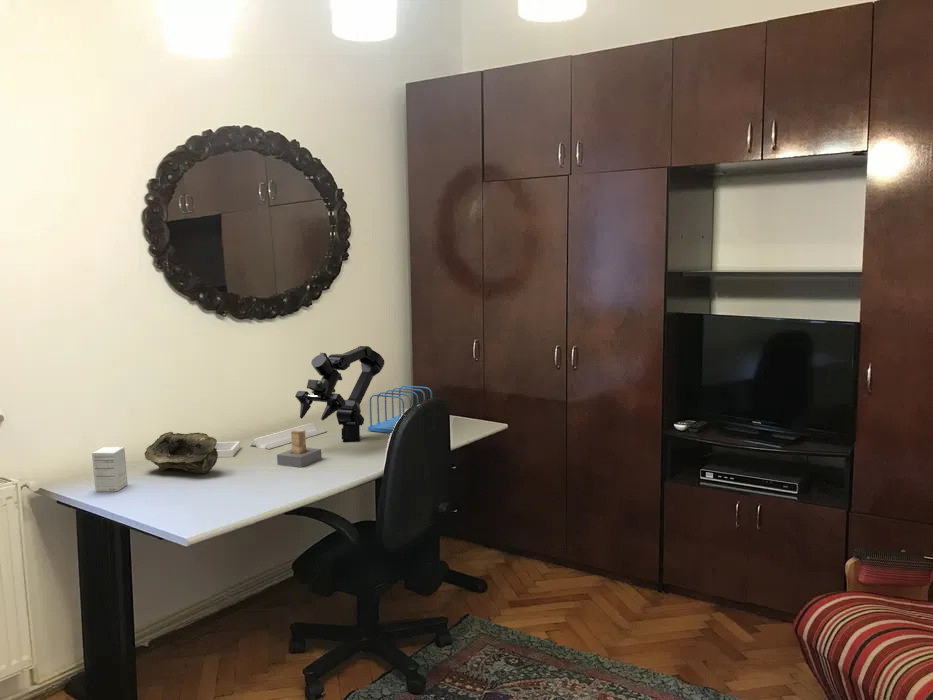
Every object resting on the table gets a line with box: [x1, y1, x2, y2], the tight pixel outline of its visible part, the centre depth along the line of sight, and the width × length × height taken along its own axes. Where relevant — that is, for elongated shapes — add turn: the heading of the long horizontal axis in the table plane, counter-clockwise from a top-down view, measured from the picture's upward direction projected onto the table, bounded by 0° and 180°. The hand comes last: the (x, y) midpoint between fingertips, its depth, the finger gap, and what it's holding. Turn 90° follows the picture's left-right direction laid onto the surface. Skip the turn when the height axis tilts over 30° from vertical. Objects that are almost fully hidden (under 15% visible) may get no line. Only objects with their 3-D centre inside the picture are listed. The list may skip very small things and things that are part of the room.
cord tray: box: [215, 441, 241, 458], centre depth 294 cm, size 13×13×2 cm
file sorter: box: [367, 385, 433, 434], centre depth 329 cm, size 25×17×15 cm
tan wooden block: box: [291, 429, 307, 454], centre depth 278 cm, size 4×3×10 cm
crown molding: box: [247, 422, 328, 450], centre depth 313 cm, size 31×12×4 cm, turn 147°
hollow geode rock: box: [144, 431, 219, 475], centre depth 271 cm, size 28×13×15 cm
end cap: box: [276, 447, 323, 468], centre depth 279 cm, size 12×10×4 cm
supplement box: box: [91, 446, 129, 493], centre depth 252 cm, size 7×7×13 cm
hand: (311, 418), depth 285 cm, fingers open, 9 cm apart
